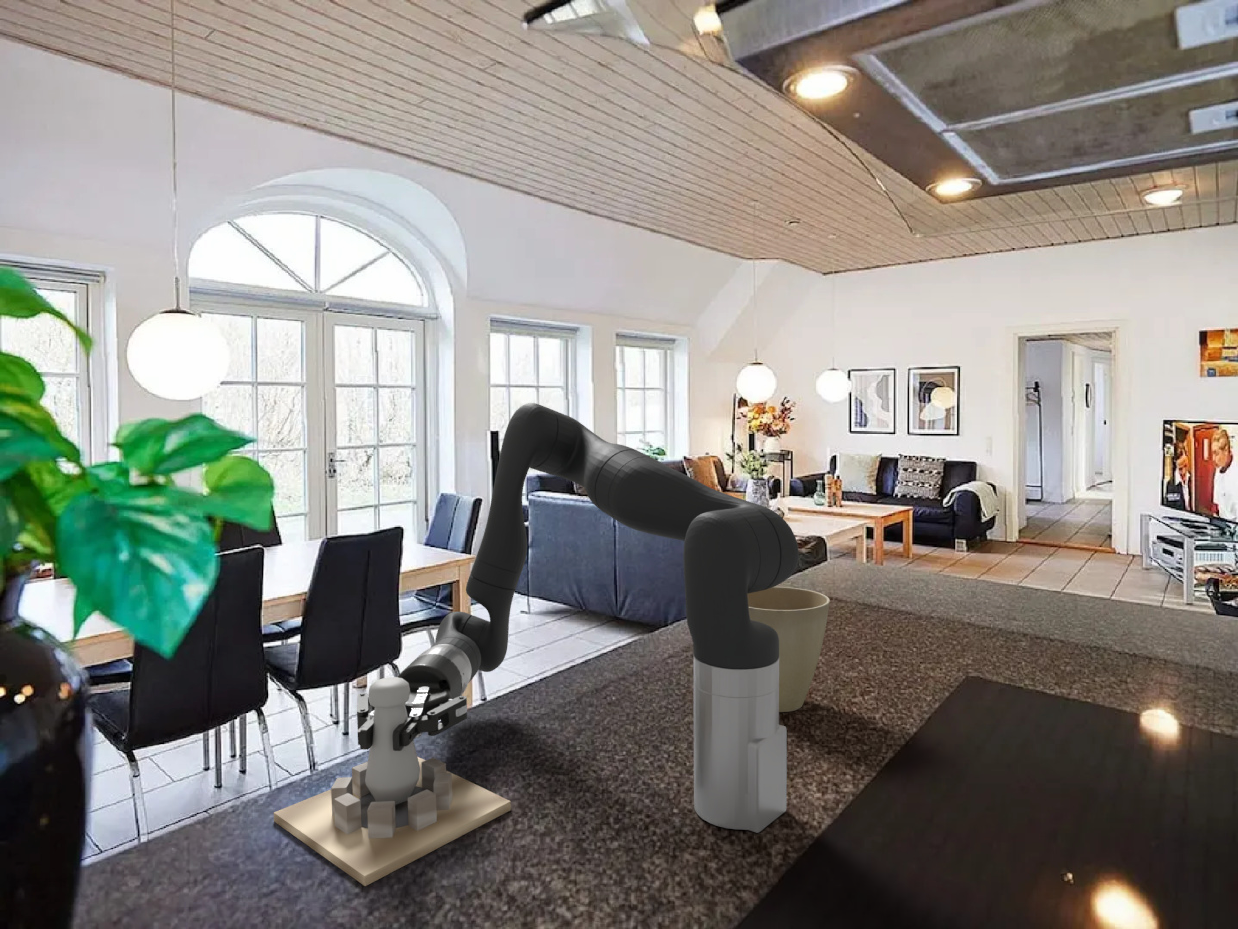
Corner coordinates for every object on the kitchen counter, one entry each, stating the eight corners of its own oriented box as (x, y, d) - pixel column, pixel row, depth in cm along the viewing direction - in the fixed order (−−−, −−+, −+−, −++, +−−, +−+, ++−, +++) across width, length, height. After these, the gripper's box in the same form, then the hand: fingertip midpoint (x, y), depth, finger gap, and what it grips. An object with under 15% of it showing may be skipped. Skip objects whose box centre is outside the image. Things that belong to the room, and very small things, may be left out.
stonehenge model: (510, 810, 88) (510, 775, 87) (365, 886, 74) (363, 845, 74) (415, 763, 99) (414, 732, 99) (274, 821, 86) (272, 785, 86)
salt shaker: (400, 778, 91) (396, 667, 90) (431, 793, 87) (427, 679, 86) (355, 798, 86) (349, 682, 85) (386, 816, 83) (381, 695, 82)
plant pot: (848, 702, 117) (849, 597, 116) (789, 732, 107) (790, 616, 106) (766, 678, 128) (766, 581, 127) (705, 702, 118) (705, 597, 117)
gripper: (379, 651, 101) (313, 705, 84) (488, 654, 99) (443, 709, 82) (382, 708, 101) (317, 773, 84) (489, 712, 100) (445, 778, 83)
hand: (379, 741), depth 83 cm, fingers closed on salt shaker, 3 cm apart
